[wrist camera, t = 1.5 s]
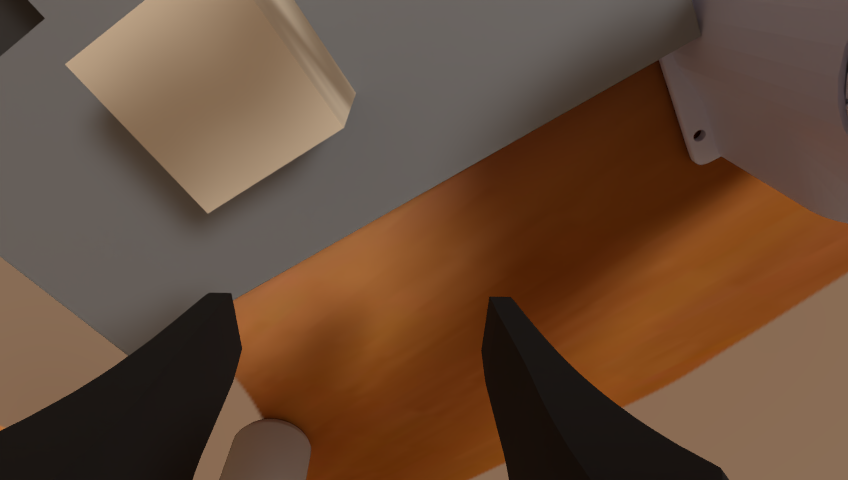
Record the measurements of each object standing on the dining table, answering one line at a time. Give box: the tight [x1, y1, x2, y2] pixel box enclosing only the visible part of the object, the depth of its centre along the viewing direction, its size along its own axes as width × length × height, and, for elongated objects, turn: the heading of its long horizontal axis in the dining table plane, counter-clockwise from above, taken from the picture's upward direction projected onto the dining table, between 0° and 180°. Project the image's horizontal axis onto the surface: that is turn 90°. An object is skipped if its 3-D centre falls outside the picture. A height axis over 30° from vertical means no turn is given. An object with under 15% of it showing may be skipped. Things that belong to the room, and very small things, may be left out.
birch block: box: [65, 0, 356, 214], centre depth 14 cm, size 5×5×4 cm
